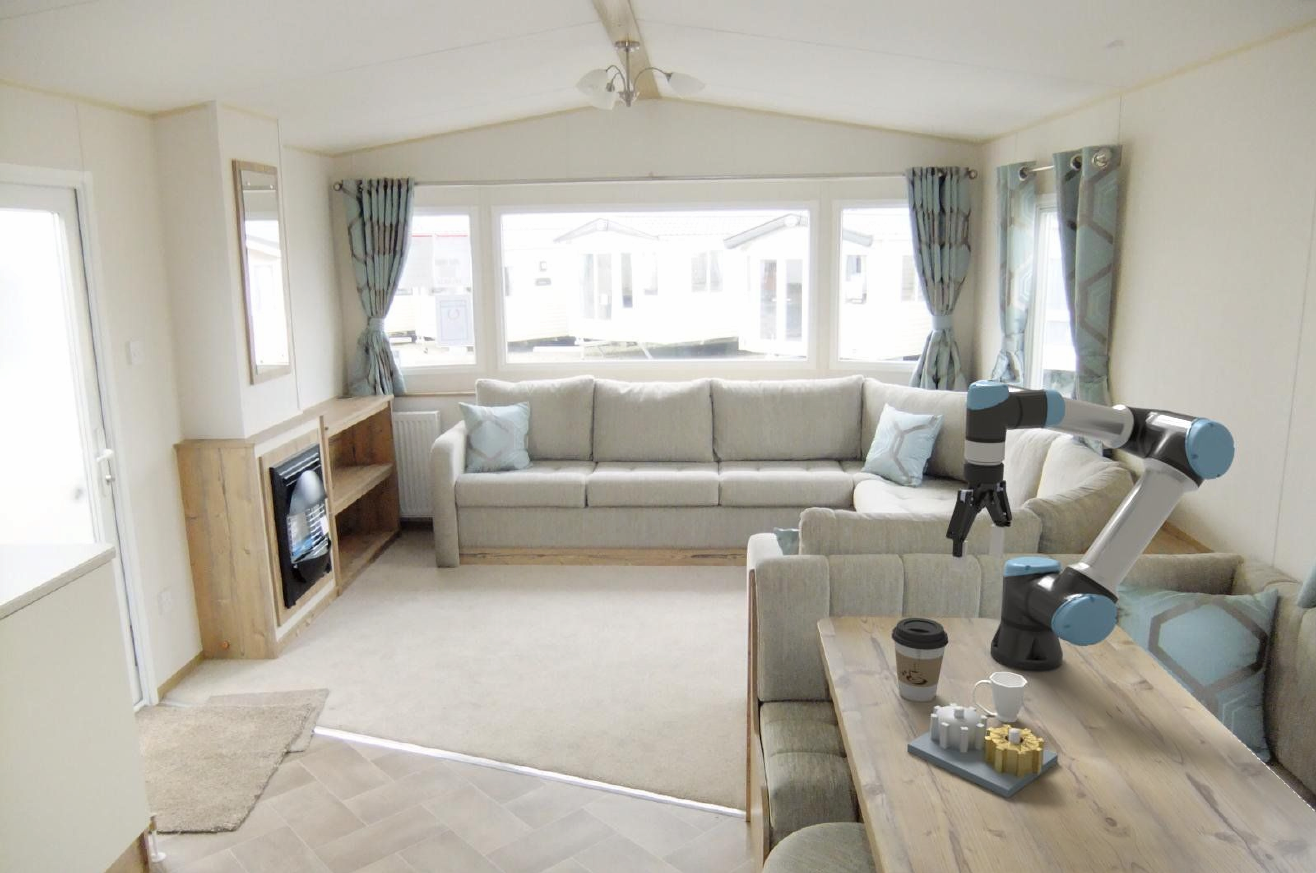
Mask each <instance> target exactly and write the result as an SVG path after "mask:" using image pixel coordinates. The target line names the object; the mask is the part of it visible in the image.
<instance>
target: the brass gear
mask: <svg viewBox="0 0 1316 873" xmlns="http://www.w3.org/2000/svg"><path fill="white" fill-rule="evenodd" d="M991 727H992V726H990V728H988V729H987V736H985V738H984V754H983V760H984V762H985V763H991V764H992V765H993V766H994V767H995V771H996V772H998V773H1000V774H1001V773H1003V772H1006V773H1010V774H1016V776H1017V778H1025V774H1031V773H1034V774H1036V775H1038V774H1040V773H1041V766H1042V765H1043V752H1044V749H1045V748H1044V747H1045V740H1044V739H1043V738H1042V737H1037V736H1035V735H1034V734H1033V732H1032V730H1031V729H1028V728H1024V729H1021V728H1017V727H1011V724H1002V727H996V728H995V727H993V728H991ZM994 728H995V729H994ZM1010 729H1017V730H1019V731H1020V742H1019V744H1015V743H1011V742H1009V730H1010ZM1040 775H1041V774H1040Z"/></svg>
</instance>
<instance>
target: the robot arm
mask: <svg viewBox="0 0 1316 873" xmlns="http://www.w3.org/2000/svg"><path fill="white" fill-rule="evenodd" d="M966 394H967V395H966V403H965V407H966V408H965V409H966V411H965V412H966V413H965V414H966V415H965V416H966V417H965V437H964V438H965V439H964V440H965V441H964V444H963V445H964V455H963V456H964V459H966V460H964V461H963V468H962V477H963V479H964V481H967V483H968V484H967V489H962V488H959V489H958V490H957V495H956V496H957V497H956V500H955V501H956V502H955V505H954V508H953V511H952V515H951V518H950V521H949V524H948V526H947V531H946V533H945V537H946V538H947V539H948V540H949V539H950V540H951V541H952V553H951V554H952V557H951V558H952V559H951V571H952V572H955V573H959V574H963V575H965V574H967V567H968V566H967V564H968V563H967V562H968V548H969V547H968V546H969V541H968V540H967V537H968V534H969V533H970V530H971V528H972V526H973V524H974V521H975V519H976V517H977V515H978V514H980V513H981V512H982V510H983V509H985V508H986V510H987V513H988V515H989V517H990V518H991V520H992V523H993V524H990V535H989V548H988V549H989V550H988V556H990V557H992V558H993V557H994V558H996V559H1004V552H1005V551H1004V549H1005V536H1006V534H1005V533H1006V527H1007V528H1010V527H1011V525H1012V521H1013V515H1012V511H1011V506H1010V500H1009V497H1008V491H1007V481H1006V480H1005V479H1004V476H1005V475H1004V474H1005V472H1004V470H1005V464H1004V463H1003V462H1004V461H1005V459H1006V458H1005V456H1006V441H1007V431H1013V430H1014V431H1015V430H1028V429H1029V430H1031V429H1041V430H1042V429H1043V430H1049V431H1054V432H1058V433H1063V434H1065V435H1071V436H1076V437H1081V438H1085V439H1090V440H1095V441H1100V442H1102V444H1103V445H1104V446H1106V447H1107V448H1109V449H1115V450H1119V451H1120V452H1121V451H1122V452H1123V453H1127V454H1130V455H1132V456H1135V457H1137V458H1139V459H1142V463H1143V467H1144V472H1143V473H1142V474H1141V475H1140V477H1139V478H1138V479H1137V481H1136V483H1135V484H1134V486H1132V488H1131V490H1130V491H1129V492H1128V494H1127V495H1126V497H1125V498H1124V499H1123V500H1122V502H1121V503H1120V505H1119V506H1118V507H1117V509H1116V511H1115V512H1114V513H1113V515H1112V516H1111V517H1110V519H1109V520H1108V522H1106V524H1105V526H1104V527H1103V529H1101V531H1100V533H1099V534H1098V536H1097V537H1096V538H1095V540H1094V541H1093V543H1091V545H1090V546H1089V548H1088V550H1087V551H1086V552H1085V554H1084V555H1083V556H1082V558H1081V560H1080V561H1079V562H1077V563H1072V564H1068V565H1067V566H1066V567H1065V568H1064V569H1063V571H1062V564H1061V563H1060V562H1059V561H1058V560H1056V559H1054V558H1053V559H1052V558H1048V557H1047V558H1046V557H1039V556H1021V557H1014V558H1011V559H1009V560H1007V561H1006V562H1005V564H1004V567H1003V568H1004V569H1003V574H1002V592H1001V609H1000V610H1001V611H1000V622H999V624H998V626H997V629H996V631H995V633H994V635H993V638H992V640H991V643H990V656H991V657H992V659H993V660H995V661H996V662H997V663H999V664H1001V665H1003V666H1005V667H1008V668H1012V669H1015V670H1019V671H1024V672H1034V673H1038V672H1039V673H1040V672H1041V673H1042V672H1043V673H1044V672H1051V671H1054V670H1057V669H1059V668H1060V667H1061V666H1062V664H1063V656H1064V653H1063V649H1062V646H1061V642H1060V640H1062V641H1064V642H1065V641H1066V642H1068V643H1070V644H1072V645H1075V646H1079V647H1088V646H1093V645H1096V644H1099V643H1101V642H1102V641H1104V640H1105V639H1106V638H1107V637H1109V636H1110V634H1111V633H1112V632H1113V631H1114V629H1115V628H1116V625H1117V621H1118V619H1117V616H1118V608H1117V607H1116V604H1117V602H1118V601H1119V599H1120V594H1119V590H1118V587H1119V586H1120V584H1121V583H1122V582H1123V580H1124V579H1125V577H1126V576H1127V574H1128V573H1129V572H1130V570H1131V569H1132V568H1133V567H1134V565H1135V564H1136V562H1137V561H1138V559H1139V558H1140V556H1141V555H1142V553H1143V552H1144V551H1145V549H1146V548H1147V547H1148V545H1149V544H1150V542H1151V541H1152V540H1153V538H1154V537H1155V535H1156V534H1157V533H1158V531H1159V530H1160V528H1161V527H1162V526H1163V524H1164V523H1165V521H1166V520H1167V519H1168V518H1169V516H1170V515H1171V513H1172V512H1173V511H1174V509H1175V508H1176V506H1177V505H1178V503H1179V502H1180V501H1181V499H1182V498H1183V497H1184V495H1185V494H1186V493H1191V492H1196V491H1198V489H1199V488H1200V487H1201V486H1202V484H1203V483H1204V481H1205V480H1207V481H1208V480H1216V479H1217V478H1221V477H1222V476H1224V475H1225V474H1226V473H1227V472H1228V471H1229V470H1230V468H1231V466H1232V464H1233V462H1234V458H1235V452H1236V450H1235V449H1236V448H1235V447H1234V445H1235V442H1234V438H1233V435H1232V433H1231V431H1230V430H1229V429H1228V427H1226V426H1225V425H1224V424H1222V423H1221V422H1218V421H1215V420H1212V419H1209V418H1206V417H1199V416H1198V417H1197V416H1193V415H1188V414H1185V413H1179V412H1176V411H1175V412H1173V411H1171V410H1165V409H1157V408H1143V407H1134V406H1133V407H1132V406H1127V405H1122V404H1117V405H1113V406H1106V405H1101V404H1097V403H1094V402H1089V401H1083V400H1080V399H1075V398H1070V397H1066V396H1063V395H1062V394H1061V393H1060V391H1057V390H1055V389H1045V388H1040V389H1030V388H1025V387H1022V386H1017V385H1012V384H1008V383H1005V382H1001V381H996V380H993V379H979V380H977V381H974V382H972V383H971V384H970V385H969V386H968V390H967V393H966ZM1061 571H1062V573H1061Z"/></svg>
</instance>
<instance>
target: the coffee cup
mask: <svg viewBox="0 0 1316 873" xmlns="http://www.w3.org/2000/svg"><path fill="white" fill-rule="evenodd" d="M948 636H949V635H948V633H947V632H946V631H945V628H944V626H943V625H942V624H941V623H939V622H937V621H935V620H932V619H930V618H924V617H923V618H922V617H907V618H903V619H901V620H899V621H897V624H896V626H894V627H893V629H892V631H891V639H892V640H893V641H894V649H895V650H894V651H895V662H896V674H897V675H896V676H897V684H898V685H897V686H898V691H899V694H900V696H901V697H903V698H904V699H906V700H908V701H912V702H917V703H924V702H926V703H927V702H931V701H932V700H934V699H935V696H936V694H937V692H938V691H937V690H938V687H939V686H938V685H939V679H940V674H941V669H942V664H943V659H944V654H945V648H946V646H947V645H948V643H949V637H948Z"/></svg>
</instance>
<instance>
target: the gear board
mask: <svg viewBox="0 0 1316 873" xmlns="http://www.w3.org/2000/svg"><path fill="white" fill-rule="evenodd" d="M929 721H930V723H929V731H926V732H925V733H924V734H922V735H920V736H918V737H917V738H915V739H913V740H911V741H910V742H908V743H907V752H908V753H911V754H912V755H914V756H917V757H919V758H921V759H924V760H926V761H927V762H929V763H932V764H934V765H936V766H938V767H941V768H943V769H945V770H946V771H949V772H951V773H953V774H956V775H958V776H960V777H962V778H963V779H966V780H968V781H970V782H972V783H974V784H977V785H978V786H981V787H983V788H985V789H988V790H989V791H992V792H994V793H996V794H998V795H1000V796H1003V797H1005V798H1007V799H1008V798H1010V797H1012V796H1013V795H1014V794H1016V793H1017V792H1019V791H1020V790H1021V789H1023V787H1025V786H1026V785H1029V783H1031V782H1032V781H1033V780H1035V779H1036V778H1038V777H1039V776H1040V775H1041V774H1043V773H1045V772H1046V771H1047V770H1049V769H1051V767H1053V766H1054V765H1056V764H1057V763H1058V762H1059V761H1058V759H1059V754H1057V753H1055V752H1053V751H1050V750H1049V749H1046V748H1044V752H1043V765H1042V766H1041V773H1040V774H1038V775H1036V774H1034V773H1031V774H1025V778H1017V776H1016V774H1010V773H1006V772H1003V773H1001V774H1000V773H998V772H996V771H995V767H994V766H993V765H992V764H991V763H985V762H984V760H983V754H984V738H985V736H987V729H988V728H990V727H991V728H994V729H996V728H995V727H992V726H990V725H988V717H987V716H986V715H985V714H981V715H980V714H979V713H978V712H977V708H975V707H973V706H969V707H965V706H962V705H961V706H960V705H958V704H957V703H949V704H948V705H946V706H940V705H936V706H933V713H931V714H930V720H929ZM1017 729H1018V728H1017ZM1017 729H1010V730H1009V742H1011V743H1015V744H1019V742H1020V731H1019V730H1017Z"/></svg>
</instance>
